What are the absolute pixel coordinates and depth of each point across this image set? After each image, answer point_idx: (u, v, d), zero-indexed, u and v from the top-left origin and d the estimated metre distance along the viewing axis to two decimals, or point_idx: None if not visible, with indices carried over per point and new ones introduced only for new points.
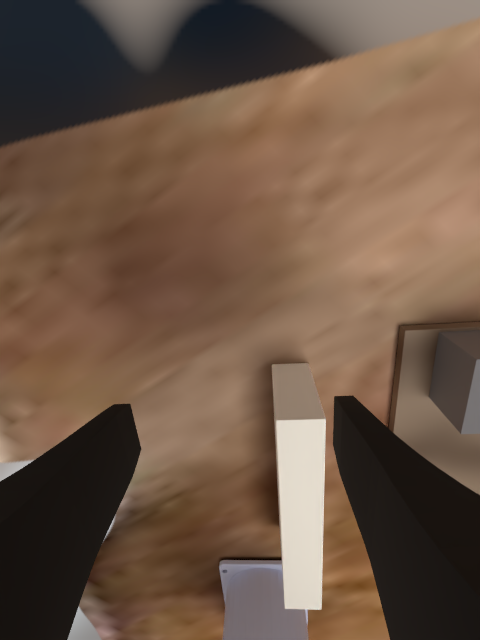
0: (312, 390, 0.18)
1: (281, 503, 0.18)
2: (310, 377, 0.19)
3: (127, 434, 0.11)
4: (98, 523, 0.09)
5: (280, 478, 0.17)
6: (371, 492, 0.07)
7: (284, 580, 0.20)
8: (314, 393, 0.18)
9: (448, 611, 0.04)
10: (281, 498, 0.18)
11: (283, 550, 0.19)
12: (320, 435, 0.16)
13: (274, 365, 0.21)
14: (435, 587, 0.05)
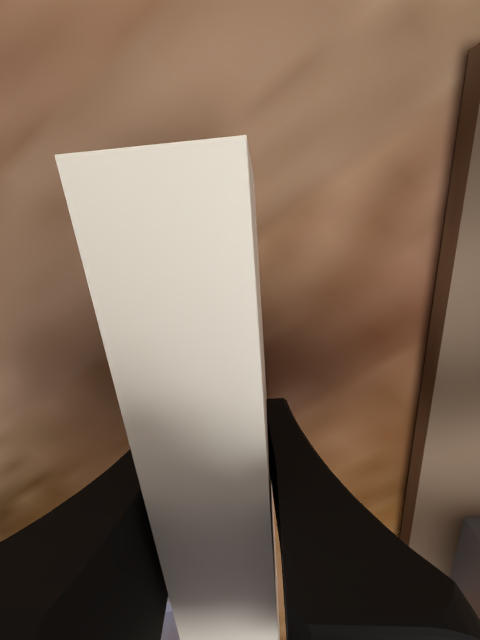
0: None
1: (145, 489, 0.06)
2: None
3: None
4: None
5: (125, 408, 0.05)
6: (277, 493, 0.08)
7: None
8: None
9: None
10: (142, 474, 0.06)
11: (176, 614, 0.08)
12: (233, 223, 0.04)
13: None
14: (284, 585, 0.05)
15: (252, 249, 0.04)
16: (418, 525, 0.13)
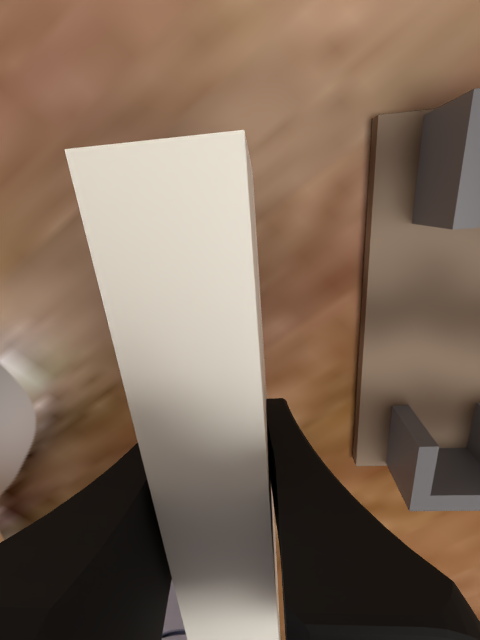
0: None
1: (149, 471, 0.06)
2: None
3: None
4: None
5: (130, 392, 0.06)
6: (276, 493, 0.08)
7: None
8: None
9: None
10: (146, 456, 0.06)
11: (179, 594, 0.08)
12: (232, 213, 0.04)
13: None
14: (283, 585, 0.05)
15: (250, 238, 0.05)
16: (363, 413, 0.20)
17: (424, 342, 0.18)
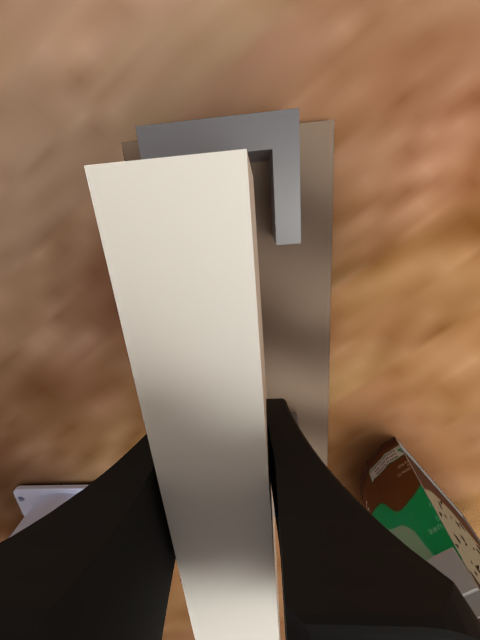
0: None
1: (157, 461, 0.07)
2: None
3: None
4: None
5: (140, 386, 0.06)
6: (276, 493, 0.08)
7: None
8: None
9: None
10: (154, 447, 0.07)
11: (184, 579, 0.08)
12: (235, 223, 0.05)
13: None
14: (283, 585, 0.05)
15: (252, 245, 0.05)
16: None
17: None
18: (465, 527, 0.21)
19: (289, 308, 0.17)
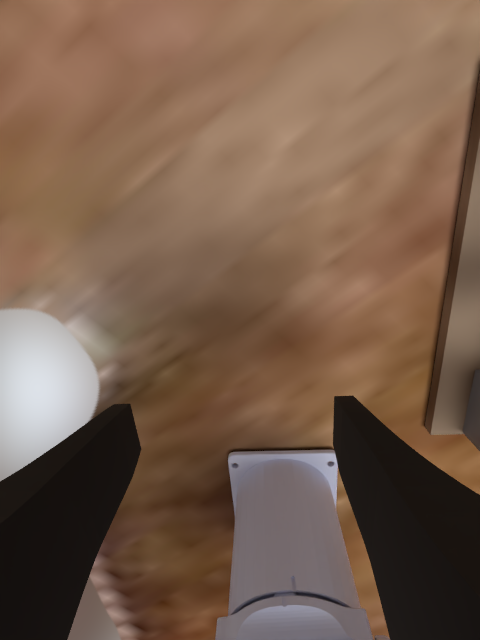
0: None
1: None
2: None
3: (127, 434, 0.11)
4: (98, 523, 0.09)
5: None
6: (371, 492, 0.07)
7: None
8: None
9: (448, 611, 0.04)
10: None
11: None
12: None
13: None
14: (435, 587, 0.05)
15: None
16: (444, 377, 0.19)
17: None
18: None
19: None
